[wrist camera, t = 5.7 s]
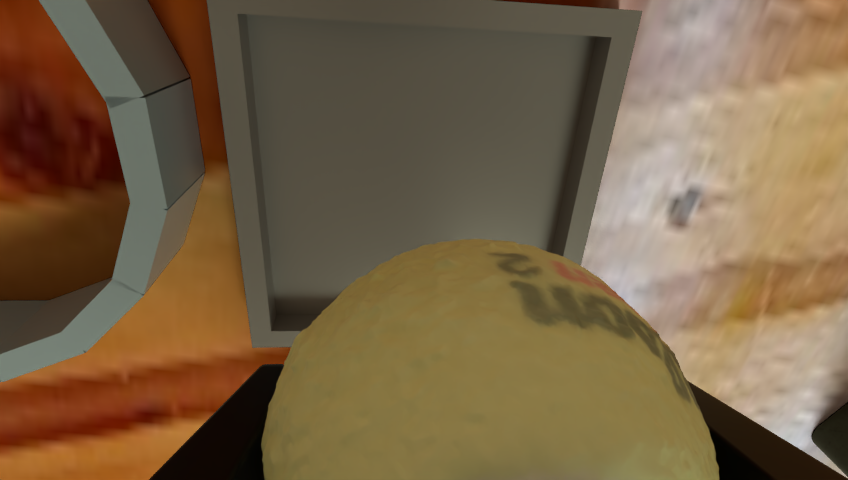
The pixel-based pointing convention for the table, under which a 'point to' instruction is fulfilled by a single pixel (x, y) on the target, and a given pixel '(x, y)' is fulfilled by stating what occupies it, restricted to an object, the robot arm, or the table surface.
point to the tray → (407, 134)
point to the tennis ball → (483, 378)
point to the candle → (834, 438)
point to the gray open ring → (142, 168)
